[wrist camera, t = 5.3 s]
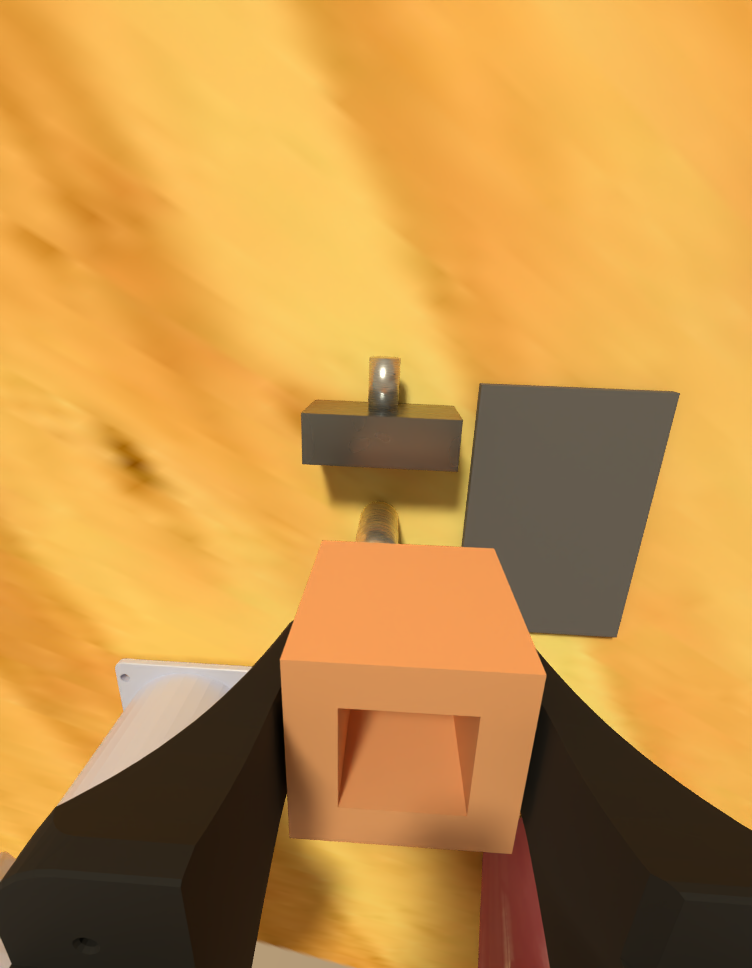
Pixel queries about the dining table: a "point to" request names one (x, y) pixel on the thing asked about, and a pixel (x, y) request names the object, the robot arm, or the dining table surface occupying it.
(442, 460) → the vise
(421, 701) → the collar
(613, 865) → the robot arm
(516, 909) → the plant pot
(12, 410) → the dining table surface
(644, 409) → the panel
